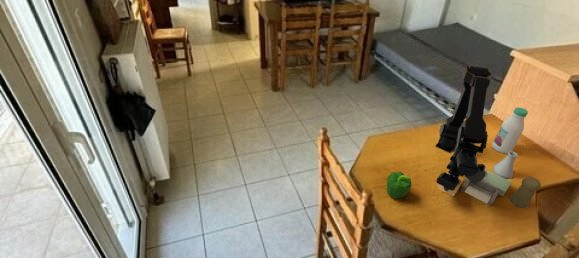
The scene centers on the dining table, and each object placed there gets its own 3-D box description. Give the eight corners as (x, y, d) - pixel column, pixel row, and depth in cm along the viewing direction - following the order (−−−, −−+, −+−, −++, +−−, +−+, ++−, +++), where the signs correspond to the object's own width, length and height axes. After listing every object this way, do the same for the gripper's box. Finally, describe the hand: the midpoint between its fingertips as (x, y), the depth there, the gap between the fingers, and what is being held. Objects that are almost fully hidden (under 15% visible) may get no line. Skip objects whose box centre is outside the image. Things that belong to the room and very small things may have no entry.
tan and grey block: (437, 188, 119) (441, 177, 115) (442, 181, 121) (446, 171, 118) (453, 196, 115) (458, 186, 112) (458, 190, 118) (463, 179, 115)
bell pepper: (379, 191, 117) (383, 172, 111) (393, 182, 121) (398, 163, 115) (397, 206, 112) (403, 186, 106) (411, 195, 116) (418, 176, 110)
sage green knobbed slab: (464, 177, 123) (467, 170, 121) (470, 168, 127) (473, 161, 125) (503, 196, 115) (506, 189, 113) (508, 186, 119) (512, 179, 117)
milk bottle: (512, 146, 138) (533, 108, 126) (511, 156, 133) (532, 117, 121) (492, 140, 142) (511, 103, 130) (490, 150, 136) (510, 111, 124)
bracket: (460, 190, 118) (462, 185, 116) (468, 179, 122) (470, 174, 121) (490, 206, 112) (493, 201, 110) (497, 193, 116) (500, 189, 115)
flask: (515, 180, 122) (527, 161, 116) (495, 177, 123) (506, 158, 117) (509, 167, 128) (520, 148, 122) (489, 165, 129) (499, 146, 123)
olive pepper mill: (506, 195, 116) (519, 174, 109) (521, 194, 116) (535, 173, 109) (516, 208, 111) (531, 187, 104) (533, 207, 111) (548, 186, 105)
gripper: (477, 182, 99) (460, 213, 108) (496, 154, 109) (480, 185, 119) (442, 164, 105) (429, 196, 114) (463, 139, 115) (450, 170, 125)
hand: (448, 186), depth 118 cm, fingers open, 5 cm apart
